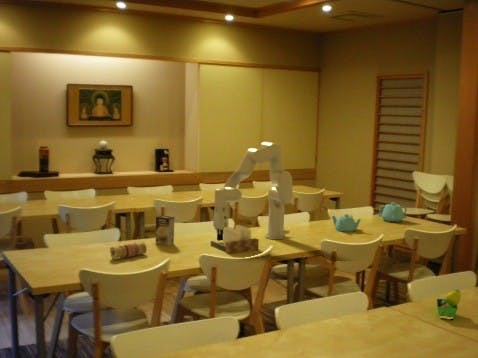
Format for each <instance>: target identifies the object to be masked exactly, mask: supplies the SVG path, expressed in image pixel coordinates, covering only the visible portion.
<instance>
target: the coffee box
mask: <svg viewBox="0 0 478 358" xmlns="http://www.w3.org/2000/svg"><path fill="white" fill-rule="evenodd" d="M174 241H175V216H171V215H163V214H161V215H158V216H155V242H154V243H155V245H159V246H166V247H170V246H172V245H175V244H174V243H175V242H174Z"/></svg>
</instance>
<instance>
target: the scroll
mask: <svg viewBox="0 0 478 358" xmlns="http://www.w3.org/2000/svg"><path fill="white" fill-rule="evenodd" d="M109 253H110V257H111V259H112V260H116V259H119V258H121V259H122V258H125V259H132V258H133V257H134V256H138V255H142V254H143V255H145V254H146V253H147V245H146V243H145V242H144V241H143V242H138V243H136V242H135V243H134V242H133V243H129V244H124V245H118V246H111V247H110V248H109Z"/></svg>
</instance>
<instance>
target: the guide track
mask: <svg viewBox="0 0 478 358" xmlns="http://www.w3.org/2000/svg"><path fill="white" fill-rule="evenodd" d="M259 241H260V240H259V239H258V238H256V237H255V238H254V237H253V238H251V239H246V240H239V241H229V242H226V246H225V245H224V244H223V243H220V242H219V243H218V241H217V242H216V241H214V240H211V241H210V246H211V247H213V246H214V247H213V248H216V249H219V250H221V251H222V252H225V253H226V254H227V255H230V254H237V253H244V252H253V251H259V244H260V243H259Z"/></svg>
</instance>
